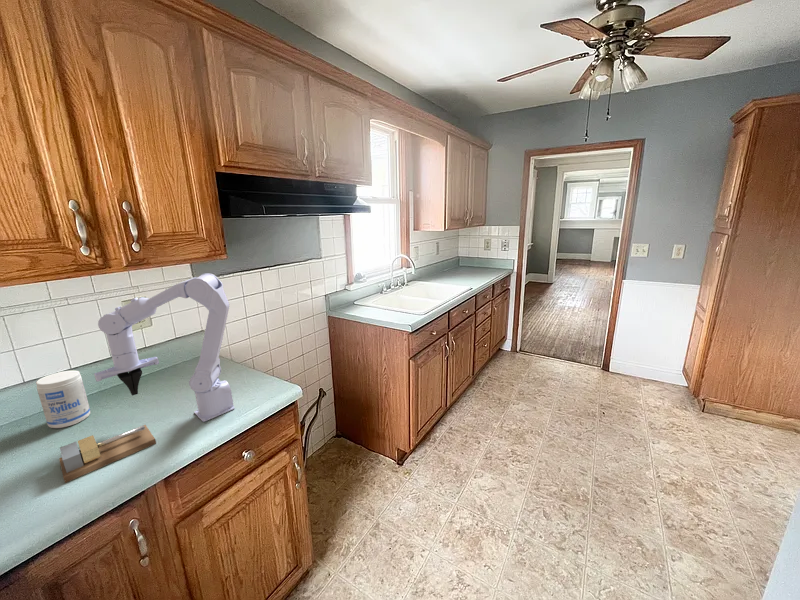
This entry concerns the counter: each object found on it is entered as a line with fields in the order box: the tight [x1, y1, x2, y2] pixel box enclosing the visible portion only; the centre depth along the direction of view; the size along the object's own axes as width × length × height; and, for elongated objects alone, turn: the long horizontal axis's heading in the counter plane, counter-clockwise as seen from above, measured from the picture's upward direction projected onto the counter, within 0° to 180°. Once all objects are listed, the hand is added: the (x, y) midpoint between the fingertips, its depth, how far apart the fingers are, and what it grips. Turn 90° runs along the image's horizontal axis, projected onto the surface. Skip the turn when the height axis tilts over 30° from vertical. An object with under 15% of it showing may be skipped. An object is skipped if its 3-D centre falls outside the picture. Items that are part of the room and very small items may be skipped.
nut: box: [77, 434, 101, 463], centre depth 84 cm, size 3×7×3 cm, turn 49°
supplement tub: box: [35, 369, 91, 429], centre depth 100 cm, size 10×10×15 cm
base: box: [58, 424, 157, 484], centre depth 87 cm, size 18×10×5 cm, turn 139°
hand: (134, 393), depth 99 cm, fingers closed
